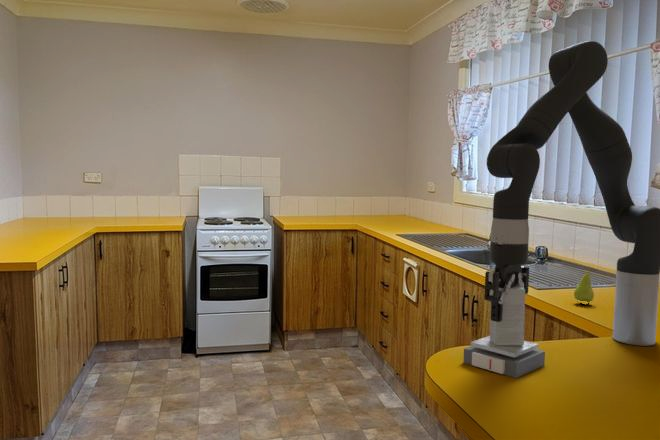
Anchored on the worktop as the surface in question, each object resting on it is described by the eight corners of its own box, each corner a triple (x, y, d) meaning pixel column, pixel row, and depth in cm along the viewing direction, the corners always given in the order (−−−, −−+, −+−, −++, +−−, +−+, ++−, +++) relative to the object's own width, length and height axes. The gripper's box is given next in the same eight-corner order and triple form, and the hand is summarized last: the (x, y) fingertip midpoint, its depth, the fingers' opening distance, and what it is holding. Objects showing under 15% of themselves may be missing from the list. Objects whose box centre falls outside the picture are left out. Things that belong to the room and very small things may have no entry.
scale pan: (495, 339, 121) (495, 333, 121) (538, 350, 114) (538, 344, 114) (470, 348, 114) (470, 342, 114) (514, 360, 107) (514, 353, 107)
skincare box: (516, 339, 116) (518, 284, 115) (524, 346, 112) (526, 289, 111) (488, 339, 116) (490, 284, 115) (494, 346, 112) (497, 288, 111)
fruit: (569, 303, 175) (571, 266, 175) (584, 302, 177) (586, 265, 176) (582, 307, 170) (584, 269, 169) (597, 306, 172) (599, 268, 171)
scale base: (493, 351, 123) (493, 338, 123) (544, 365, 114) (545, 351, 114) (460, 363, 114) (461, 349, 114) (513, 379, 105) (514, 364, 105)
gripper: (510, 236, 120) (507, 309, 121) (474, 240, 110) (471, 319, 112) (542, 240, 115) (539, 316, 116) (508, 244, 105) (505, 327, 106)
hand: (506, 317), depth 114 cm, fingers open, 7 cm apart
